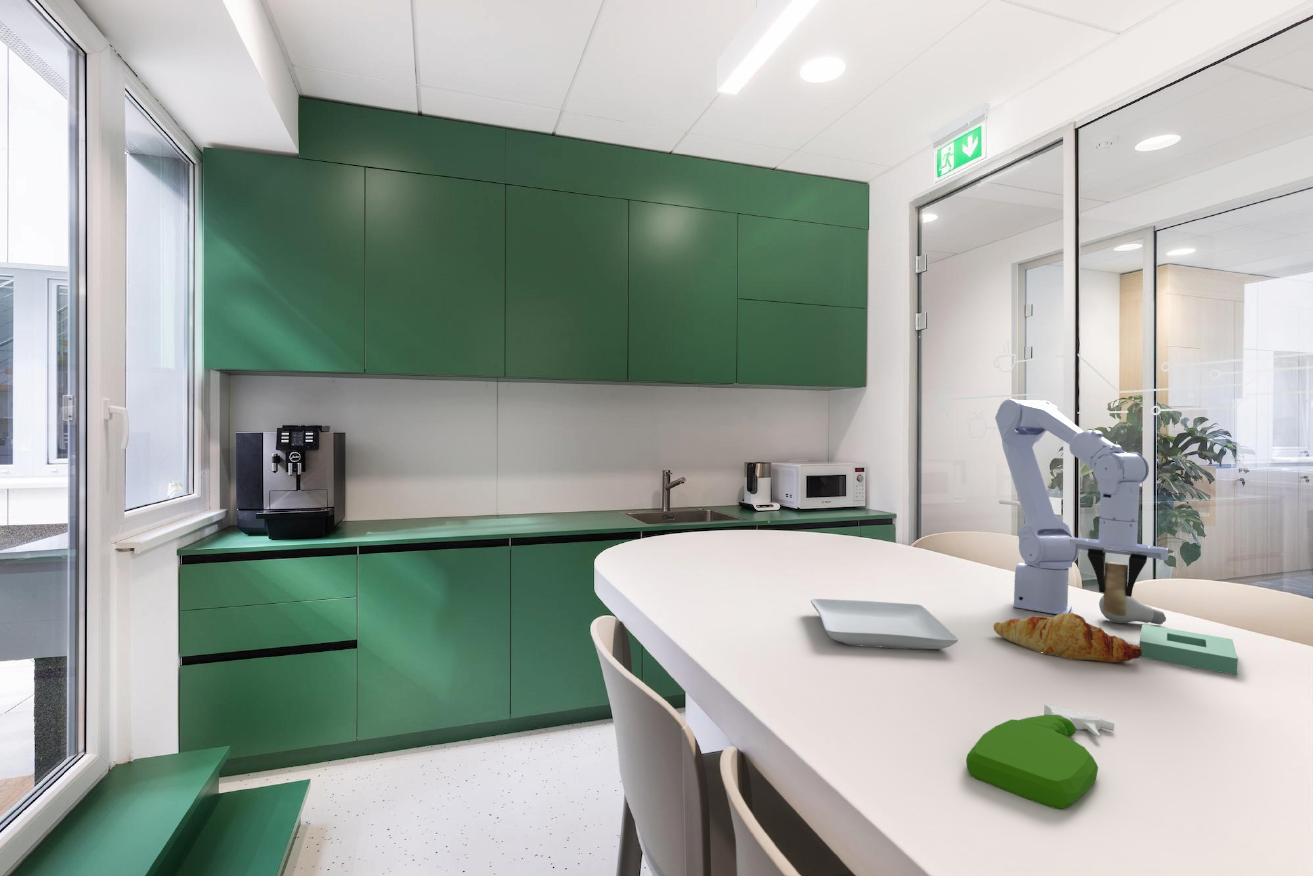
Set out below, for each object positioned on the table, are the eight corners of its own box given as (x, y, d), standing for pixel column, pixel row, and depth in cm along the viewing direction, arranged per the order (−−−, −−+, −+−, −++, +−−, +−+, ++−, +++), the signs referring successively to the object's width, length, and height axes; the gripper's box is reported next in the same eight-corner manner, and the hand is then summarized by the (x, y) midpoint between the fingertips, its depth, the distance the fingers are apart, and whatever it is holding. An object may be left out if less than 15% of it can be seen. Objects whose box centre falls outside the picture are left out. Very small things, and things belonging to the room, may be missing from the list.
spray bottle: (956, 775, 69) (1028, 711, 86) (1074, 822, 61) (1128, 741, 79) (957, 748, 69) (1029, 689, 86) (1075, 791, 61) (1129, 717, 79)
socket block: (1138, 656, 106) (1139, 640, 106) (1141, 638, 116) (1142, 624, 116) (1237, 674, 99) (1237, 658, 99) (1231, 654, 108) (1232, 639, 108)
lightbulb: (1161, 600, 126) (1098, 583, 129) (1177, 607, 120) (1111, 589, 123) (1153, 630, 126) (1090, 613, 129) (1169, 639, 120) (1103, 621, 123)
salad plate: (920, 619, 126) (921, 601, 126) (960, 659, 104) (961, 638, 104) (809, 614, 128) (809, 596, 128) (826, 651, 107) (826, 631, 107)
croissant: (989, 660, 113) (984, 625, 110) (1000, 622, 120) (996, 587, 117) (1140, 691, 100) (1139, 652, 97) (1144, 646, 107) (1143, 608, 104)
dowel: (1102, 613, 118) (1104, 563, 118) (1103, 609, 121) (1105, 560, 120) (1125, 617, 116) (1127, 566, 116) (1126, 612, 119) (1128, 563, 118)
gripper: (1068, 516, 119) (1065, 590, 120) (1169, 526, 110) (1165, 605, 111) (1073, 513, 125) (1070, 583, 125) (1169, 521, 116) (1166, 597, 116)
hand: (1115, 593), depth 118 cm, fingers closed on dowel, 3 cm apart
